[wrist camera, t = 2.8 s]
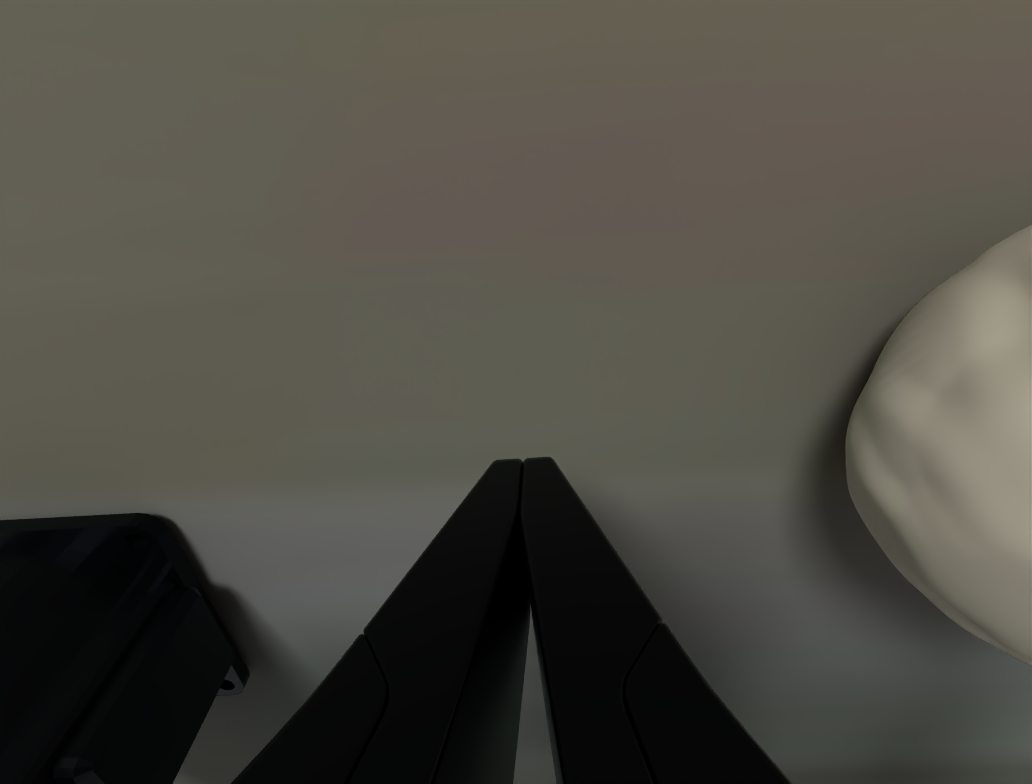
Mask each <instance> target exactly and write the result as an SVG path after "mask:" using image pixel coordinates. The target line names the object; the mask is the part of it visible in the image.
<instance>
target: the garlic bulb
mask: <svg viewBox="0 0 1032 784" xmlns="http://www.w3.org/2000/svg"><path fill="white" fill-rule="evenodd" d="M845 452H846V476H847V485H848V490H849V493H850V496H851V499H852V501H853V503H854V505H855V508H856V509H857V511H858V513H859V515H860V517H861V519H862V520H863V522H864V524H865V525H866V527H867V528H868V530H869V531H870V533H871V534H872V536H873V537H874V539H875V540H876V542H877V543H878V545H879V546H880V547H881V549H882V550H883V552H884V553H885V554H886V556H887V557H888V559H889V560H890V561H891V562H892V564H893V565H894V566H895V567H896V568H897V569H898V571H899V572H900V573H901V574H902V575H903V576H904V577H905V578H906V579H907V580H908V581H909V582H910V583H911V584H912V585H913V586H915V587H916V588H917V589H918V590H919V591H920V592H921V593H922V594H923V595H924V596H926V597H927V598H928V599H929V600H930V601H931V602H932V603H933V604H934V605H935V606H936V607H937V608H939V609H940V610H941V611H942V612H943V613H944V614H945V615H947V616H948V617H949V618H950V619H951V620H953V621H954V622H955V623H957V624H958V625H959V626H961V627H962V628H964V629H965V630H967V631H968V632H970V633H971V634H973V635H975V636H976V637H978V638H980V639H982V640H984V641H986V642H988V643H990V644H992V645H993V646H995V647H997V648H998V649H1000V650H1002V651H1004V652H1005V653H1007V654H1009V655H1011V656H1013V657H1015V658H1017V659H1019V660H1021V661H1023V662H1025V663H1027V664H1029V665H1031V666H1032V225H1030V226H1028V227H1026V228H1024V229H1022V230H1020V231H1018V232H1016V233H1014V234H1012V235H1011V236H1009V237H1007V238H1006V239H1004V240H1002V241H1001V242H999V243H997V244H995V245H994V246H992V247H991V248H989V249H988V250H986V251H985V252H984V253H983V254H981V255H980V256H979V257H978V258H977V259H975V260H974V261H973V262H972V263H970V264H969V265H968V266H966V267H965V268H963V269H962V270H960V271H959V272H957V273H956V274H954V275H953V276H952V277H950V278H949V279H947V280H946V281H944V282H943V283H942V284H940V285H939V286H937V287H936V288H935V289H933V290H932V291H931V292H930V293H928V294H927V295H926V296H925V297H924V298H922V299H921V300H920V301H919V302H918V303H917V304H916V305H915V306H914V307H913V308H912V309H911V310H910V312H909V313H908V314H907V315H906V316H905V317H904V319H903V320H902V321H901V322H900V324H899V325H898V326H897V328H896V329H895V331H894V332H893V334H892V335H891V337H890V338H889V340H888V341H887V343H886V345H885V346H884V348H883V350H882V352H881V354H880V356H879V358H878V360H877V362H876V364H875V367H874V369H873V371H872V373H871V375H870V377H869V379H868V381H867V383H866V385H865V387H864V389H863V390H862V392H861V394H860V396H859V398H858V400H857V402H856V404H855V406H854V409H853V411H852V414H851V417H850V420H849V424H848V429H847V434H846V442H845Z"/></svg>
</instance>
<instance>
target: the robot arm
mask: <svg viewBox="0 0 1032 784" xmlns="http://www.w3.org/2000/svg"><path fill="white" fill-rule="evenodd" d="M530 603H531V611H532V619H533V627H534V634H535V640H536V647H537V654H538V661H539V668H540V674H541V681H542V688H543V695H544V701H545V708H546V715H547V722H548V728H549V735H550V742H551V749H552V756H553V762H554V769H555V776H556V783H557V784H792V783H791V782H790V780H789V779H788V778H787V777H786V776H785V775H784V774H783V772H782V771H781V770H780V769H779V768H778V767H777V765H776V764H775V763H774V762H773V761H772V760H771V759H770V757H769V756H768V755H767V754H766V753H765V752H764V750H763V749H762V748H761V747H760V746H759V745H758V744H757V742H756V741H755V740H754V739H753V738H752V737H751V735H750V734H749V733H748V732H747V731H746V729H745V728H744V727H743V726H742V725H741V723H740V722H739V721H738V720H737V719H736V717H735V716H734V715H733V714H732V712H731V711H730V710H729V709H728V708H727V706H726V705H725V704H724V703H723V702H722V700H721V699H720V698H719V697H718V695H717V694H716V693H715V692H714V691H713V689H712V688H711V687H710V685H709V684H708V683H707V681H706V680H705V679H704V677H703V676H702V674H701V673H700V672H699V670H698V669H697V668H696V666H695V665H694V663H693V662H692V661H691V659H690V658H689V657H688V655H687V654H686V653H685V651H684V650H683V648H682V647H681V645H680V644H679V642H678V641H677V640H676V638H675V637H674V635H673V634H672V632H671V631H670V629H669V628H668V626H667V625H666V624H664V623H662V618H661V617H660V615H659V614H658V612H657V611H656V609H655V608H654V606H653V605H652V603H651V602H650V600H649V599H648V598H647V596H646V595H645V593H644V592H643V590H642V589H641V587H640V586H639V584H638V583H637V581H636V580H635V578H634V577H633V576H632V574H631V573H630V571H629V570H628V568H627V567H626V565H625V564H624V562H623V561H622V559H621V558H620V556H619V555H618V554H617V552H616V551H615V549H614V548H613V546H612V545H611V543H610V542H609V540H608V539H607V537H606V536H605V534H604V533H603V532H602V530H601V529H600V527H599V526H598V524H597V523H596V521H595V520H594V518H593V517H592V515H591V514H590V512H589V511H588V510H587V508H586V507H585V505H584V504H583V502H582V501H581V499H580V498H579V496H578V495H577V493H576V492H575V490H574V489H573V488H572V486H571V485H570V483H569V482H568V480H567V479H566V477H565V476H564V474H563V473H562V471H561V470H560V468H559V467H558V465H557V464H556V463H555V461H554V460H553V459H552V458H551V457H536V458H527V459H525V460H524V462H522V460H520V459H503V460H496V461H494V462H493V463H492V464H491V465H490V467H489V468H488V469H487V470H486V472H485V473H484V474H483V476H482V477H481V478H480V479H479V481H478V482H477V483H476V485H475V486H474V487H473V489H472V490H471V491H470V492H469V494H468V495H467V496H466V498H465V499H464V500H463V502H462V503H461V504H460V505H459V507H458V508H457V509H456V511H455V512H454V513H453V514H452V516H451V517H450V518H449V520H448V521H447V522H446V524H445V525H444V526H443V527H442V529H441V530H440V531H439V533H438V534H437V535H436V536H435V538H434V539H433V540H432V542H431V543H430V544H429V546H428V547H427V548H426V549H425V551H424V552H423V553H422V555H421V556H420V557H419V559H418V560H417V561H416V562H415V564H414V565H413V566H412V568H411V569H410V570H409V571H408V573H407V574H406V575H405V577H404V578H403V579H402V581H401V582H400V583H399V584H398V586H397V587H396V588H395V590H394V591H393V592H392V594H391V595H390V596H389V597H388V599H387V600H386V601H385V603H384V604H383V605H382V606H381V608H380V609H379V610H378V612H377V613H376V614H375V616H374V617H373V618H372V619H371V621H370V622H369V623H368V625H367V626H366V627H365V629H364V634H360V635H359V636H358V637H357V638H356V640H355V641H354V642H353V644H352V645H351V646H350V648H349V649H348V650H347V651H346V653H345V654H344V655H343V657H342V658H341V659H340V660H339V662H338V663H337V664H336V665H335V667H334V668H333V669H332V670H331V671H330V673H329V674H328V675H327V676H326V678H325V679H324V680H323V681H322V683H321V684H320V685H319V686H318V687H317V689H316V690H315V691H314V692H313V694H312V695H311V696H310V697H309V698H308V700H307V701H306V702H305V703H304V704H303V705H302V706H301V707H300V709H299V710H298V711H297V712H296V713H295V714H294V715H293V716H292V718H291V719H290V720H289V721H288V722H287V723H286V724H285V725H284V726H283V728H282V729H281V730H280V731H279V732H278V733H277V734H276V735H275V737H274V738H273V739H272V740H271V741H270V742H269V743H268V744H267V745H266V746H265V748H264V749H263V750H262V751H261V752H260V753H259V754H258V755H257V756H256V757H255V758H254V759H253V760H252V761H251V763H250V764H249V765H248V766H247V767H246V768H245V769H244V770H243V771H242V772H241V773H240V774H239V775H238V777H237V778H236V779H235V780H234V781H233V782H232V783H231V784H513V778H514V769H515V759H516V750H517V740H518V730H519V721H520V711H521V702H522V692H523V682H524V673H525V663H526V654H527V644H528V635H529V623H530ZM249 676H250V673H249V670H248V668H247V666H246V664H245V663H244V661H243V659H242V657H241V656H240V654H239V652H238V650H237V649H236V647H235V645H234V643H233V642H232V640H231V638H230V636H229V635H228V633H227V631H226V629H225V627H224V626H223V624H222V622H221V620H220V619H219V617H218V615H217V613H216V612H215V610H214V608H213V606H212V605H211V603H210V601H209V599H208V597H207V596H206V594H205V592H204V590H203V589H202V587H201V585H200V583H199V582H198V580H197V578H196V576H195V575H194V573H193V571H192V569H191V568H190V566H189V564H188V562H187V560H186V559H185V557H184V555H183V553H182V552H181V550H180V548H179V546H178V545H177V543H176V541H175V539H174V538H173V536H172V534H171V532H170V531H169V529H168V527H167V526H166V525H165V524H164V523H163V522H162V521H161V520H159V519H158V518H156V517H154V516H151V515H149V514H143V513H129V514H111V515H92V516H74V517H55V518H36V519H18V520H0V784H173V782H174V780H175V778H176V776H177V774H178V772H179V770H180V768H181V765H182V763H183V761H184V759H185V757H186V755H187V753H188V751H189V749H190V747H191V745H192V743H193V741H194V739H195V737H196V735H197V733H198V731H199V729H200V727H201V725H202V723H203V721H204V719H205V717H206V715H207V713H208V711H209V709H210V707H211V705H212V703H213V701H214V699H215V697H216V696H224V695H237V694H239V693H241V692H242V691H243V689H244V687H245V685H246V683H247V680H248V678H249Z"/></svg>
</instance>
